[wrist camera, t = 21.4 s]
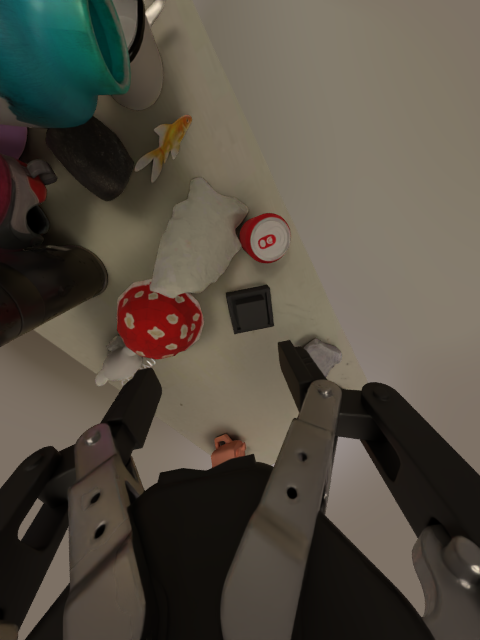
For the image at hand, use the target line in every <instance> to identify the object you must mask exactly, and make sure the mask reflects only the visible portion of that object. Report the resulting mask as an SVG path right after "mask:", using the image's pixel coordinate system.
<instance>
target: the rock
mask: <svg viewBox="0 0 480 640" xmlns="http://www.w3.org/2000/svg"><path fill="white" fill-rule="evenodd" d="M248 211H249V209H248V208H247V206H246V205H245V204H244V203H241V202H240V201H239V200H238V199H237V198H234V197H225V196H223V195H221V194H219V193H217V192H215V191H214V190H213V189H212V187H211V186H210V185H209V184H208V183H207V182H206V181H205V179H203V178H202V177H199V178H194V179H193V180H192V181H191V182H190V192H189V194H188V199H187V200H185V201H182V202H181V203H179V204H177V205H175V206H174V208H173V216H172V218H171V219H170V220H169V221H168V225H167V229H166V231H165V232H164V234H163V236H162V238H161V240H160V247H159V249H158V252H157V259H156V262H155V267H154V270H153V279H152V281H151V284H150V285H149V286H150V290H151V291H153V292H157V293H160V294H162V295H164V296H167V297H169V298H175V297H176V296H177V295H179V294H183V293H200V292H202V291H203V290H204V289H206V288H207V286H208V285H209V284H211V283H212V282H216V280H217V279H218V278H219V276H220V275H221V274H223V273H224V271H225V269H226V268H227V267H228V264H229V263H230V261H231V258H232V257H233V256H234V255H235V254H236V253H237V252H238V251H239V249H240V248H241V246H242V245H241V243H240V241H239V239H238V238H237V236H236V233H235V229H236V227H237V226H239V225H240V224H241V223H242V221H243V220H244V218H245V217H246V215H247V213H248Z"/></svg>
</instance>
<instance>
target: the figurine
mask: <svg viewBox="0 0 480 640" xmlns="http://www.w3.org/2000/svg"><path fill="white" fill-rule="evenodd" d="M109 343H110V344H109V345H107V346H106V347H107V349H109V350H108V351H110V350H111V351H112V352H111V353H110V354H109V355H108V356H107V357H106V359H105V360H104V363H103V369H102V370H101V371H100V372H99V373H98V374H97V376H96V378H95V383H96V385H98V386H103V385H105V384H106V382H107V381H108V379H109V380H111V381H119V380H122V379H124V380H123V381H122V382H121V384H122V385H123V386H124V384H123V382H124V381H125V378H126V379H127V380H128V381H129V379H128V377H130V376H131V375H132V376H133V377H134V375H133V374H134V373H135V372H137V370H138V369H139V368H140V369H144V368H146V367H149V368H150V366H147V365H145V364H143V363H142V362H143V357H142V356H139V355H137V354H136V353H135V352H133V351H132V350H130V349H129V348H127V347H126V345H125V344H124V342H123V340H122V338H121V337H120V336H116V337H115V338H113V339H112V341H111V342H109ZM150 359H151V358H150ZM151 360H152V361H153V362H154V364H151V363H150V362H149V361H147V362H148V363H149V364H150V365H151V366H153V365H155V363H156V362H155V361H154V360H153V359H151ZM142 366H144V368H141V367H142ZM145 366H146V367H145Z"/></svg>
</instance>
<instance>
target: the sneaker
mask: <svg viewBox="0 0 480 640" xmlns="http://www.w3.org/2000/svg"><path fill="white" fill-rule="evenodd" d="M57 180H58V178H57V176H56V175H55V173H54V171H53V170H52V168H51V166H50V165H49V164H48V163H47V162H45V161H43V160H32V161H30V162H29V163H28V165H27V164H26V163H24V162H22V161H20V160H18V159H15V158H13V157H10V156H7V155H4V154H1V153H0V254H1V253H9V252H18V251H23V249H26V248H29V247H32V246H33V245H40V244H42V242H43V241H44V238H43V237H42V236H40V235H43V234H45V233H47V231H48V229H49V221H48V219H47V218H46V216H45V214H44V213H43V211H42V210H41V208H40V207H39V206H38V205H39V204H41V203H43V202H44V201H45V200H46V197H47V189H46V187H45V185H48V184H51V183H54V182H56V181H57Z"/></svg>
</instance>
